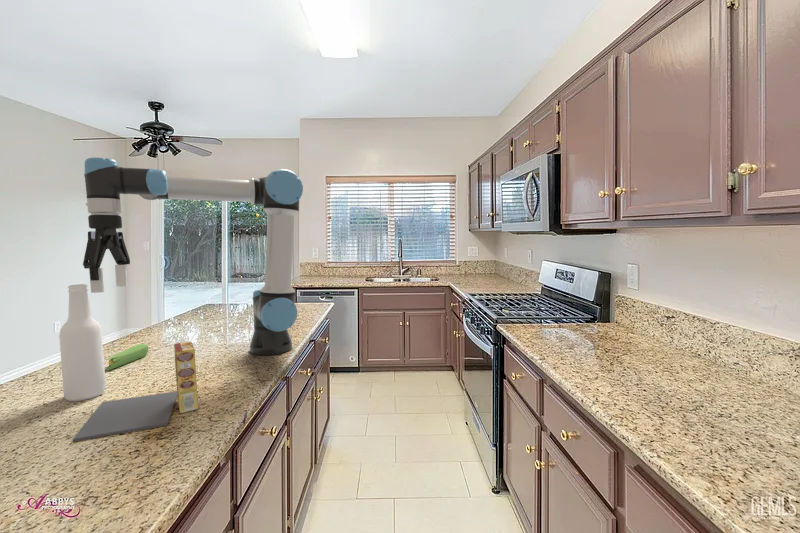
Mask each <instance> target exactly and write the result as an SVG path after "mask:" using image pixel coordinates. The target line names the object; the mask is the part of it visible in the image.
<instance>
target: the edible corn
mask: <svg viewBox="0 0 800 533" xmlns="http://www.w3.org/2000/svg"><path fill="white" fill-rule="evenodd" d="M147 354H149V345H148V344H146V343H139V344H136V345H134V346H133V345H132V347H129V348H127V349H125V350H123V351H121V352H119V353H117V354H114V355H112V356H110V357H108V358H104V361H106V360H108V362H107V364H108V366H107V367H106V371H107V370H109V371H112V370H114V368H115V369H117V368H120V367H122V366H125V365H127V364H130V363H132V362H134V360H135V361H137V360H139V358H140V359H143V358H145V357H146V356H147ZM129 362H130V363H129ZM124 364H125V365H124ZM109 371H108V372H109Z"/></svg>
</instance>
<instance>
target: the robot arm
mask: <svg viewBox="0 0 800 533" xmlns="http://www.w3.org/2000/svg"><path fill="white" fill-rule="evenodd" d="M118 164H119V163H118V162H117V161H116V160H115V159H112V158H107V157H105V158H104V157H89V158H86V159H85V160H84V173H83V174H84V175H83V176H84V183H85V192H86V193H85V194H86V203H85V205H86V206H87V212H88V214H90V215H88V216H87V219H88V228H90V229H93V231H91V230H90V231H89V230H88V231H87V242H86V248H85V253H84V257H83V260H82V261H83V262H82V266H83V268H84V269H88V271H89V281H90V282H89V283H90V292H91V293H92V294H93V293H94V294H96V293H105V288H104V285H105V284H104V273H103V268H102V267H101V265H102V262H103V259H104V257H105V253H106V251H107V250H109V252H110V254H111V256H112V258H113V260H114V261H115V264H116V265H115V264H114V270H115V282H116V283H115V284H116V287H118V288H119V287H128V286H129V285H128V272H127V270H128V269H127V265H130V264H131V259H130V256H129V253H128V249H127V246H126V243H125V240H124V233H123V232H122V231H117V229H122V228H123V222H122V219H123V218H122V216H121V215H120V214H122V205H121V194H122V195H139V196H140V197H141V198H143V199H144V200H148V201H154V200H182V201H183V200H186V201H216V202H241V203H242V202H248V203H250V204H251V205H254V206H262V210H263V211H264V212H265V213H266V215H267V219H266V222H267V224H266V246H265V247H266V248H265V249H266V250H265V253H266V254H265V274H264V276H265V277H264V286H263V287H261V289H256V290H254V291H253V292H252V302H253V304H252V307H253V328H254V329H253V330H254V331H253V333H252V337H251V340H250V343H249V352H250V353H251V354H253V355H256V356H257V355H258V356H269V355H278V354H283V353H286V352H289V351H291V350H292V349H293V341H292V338H291V336H290V333H289V330H288V329H290V328H291V327H292V326H293V325H294V324H295V323H296V321H297V318H298V309H297V305H296V290H295V288H293V286H292V273H293V272H292V269H293V268H292V267H293V247H294V245H293V244H294V243H293V242H294V225H295V223H294V222H295V216H296V215H297V214H298V213H300V212H299V211H300V209H299V208H300V199H301V198H302V195H303V191H304V184H303V182H302V180H301V178H300V177H299V176H298V175H297V173H295V172H294V171H292V170H289V169H286V168H285V169H284V168H282V169H281V168H280V169H276V170H274V171H271V172H270V173H269V174H268V175H267V176H266V177H251V178H249V180H246V179H231V178H230V179H229V178H227V179H226V178H208V177H207V178H206V177H192V176H191V177H190V176H176V175H175V176H172V175H168V174H167V172H166V171H165V170H163V169H155V168H152V167H151V168H140V167H139V168H138V167H122V166H119V165H118ZM167 175H168V176H167Z"/></svg>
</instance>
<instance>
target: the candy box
mask: <svg viewBox="0 0 800 533" xmlns="http://www.w3.org/2000/svg"><path fill="white" fill-rule="evenodd" d="M193 344H194V343H192V341H185V342H178V343H173V346H174V348H173V350H174V365H175V367H174V368H175V381H176V391H177V395H178V397H177V404H178V408H179V413H180V414H184V413H189V412H192V411H196V410H199V398H198V384H197V383H198V382H197V366H196V354H195V353H196V352H195V350H196V349H195V347H194V345H193Z"/></svg>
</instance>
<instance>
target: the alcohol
mask: <svg viewBox="0 0 800 533" xmlns="http://www.w3.org/2000/svg"><path fill="white" fill-rule="evenodd" d="M88 287H89V286H88V285H87V284H85V283H84V284H82V283H81V284H69V285H68V286H67V289H68V291H67V293H68V317H67V320H66V322H65V323H63V325H62V326H61V328H60V331H59V334H58V335H59V336H58V337H59V338H58V339H59V349H60V350H59V351H60V363H61V364H60V365H61V374H62V376H61V377H62V387H63V388H62V391H63V398H64V399H66V401H67V402H82V401H85V400H91V399H94V398H97V397H99V396H101V395H103V394H104V392H105V391H106V389H107V388H106V384H107V383H106V373H105V357H104V344H103V343H104V342H103V339H104V338H103V329H102V327H101V323H99V322H98V321H97V320H95V318H94V317H93V316H92V312H91V306H90V300H89V294H88V291H89V289H88Z"/></svg>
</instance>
